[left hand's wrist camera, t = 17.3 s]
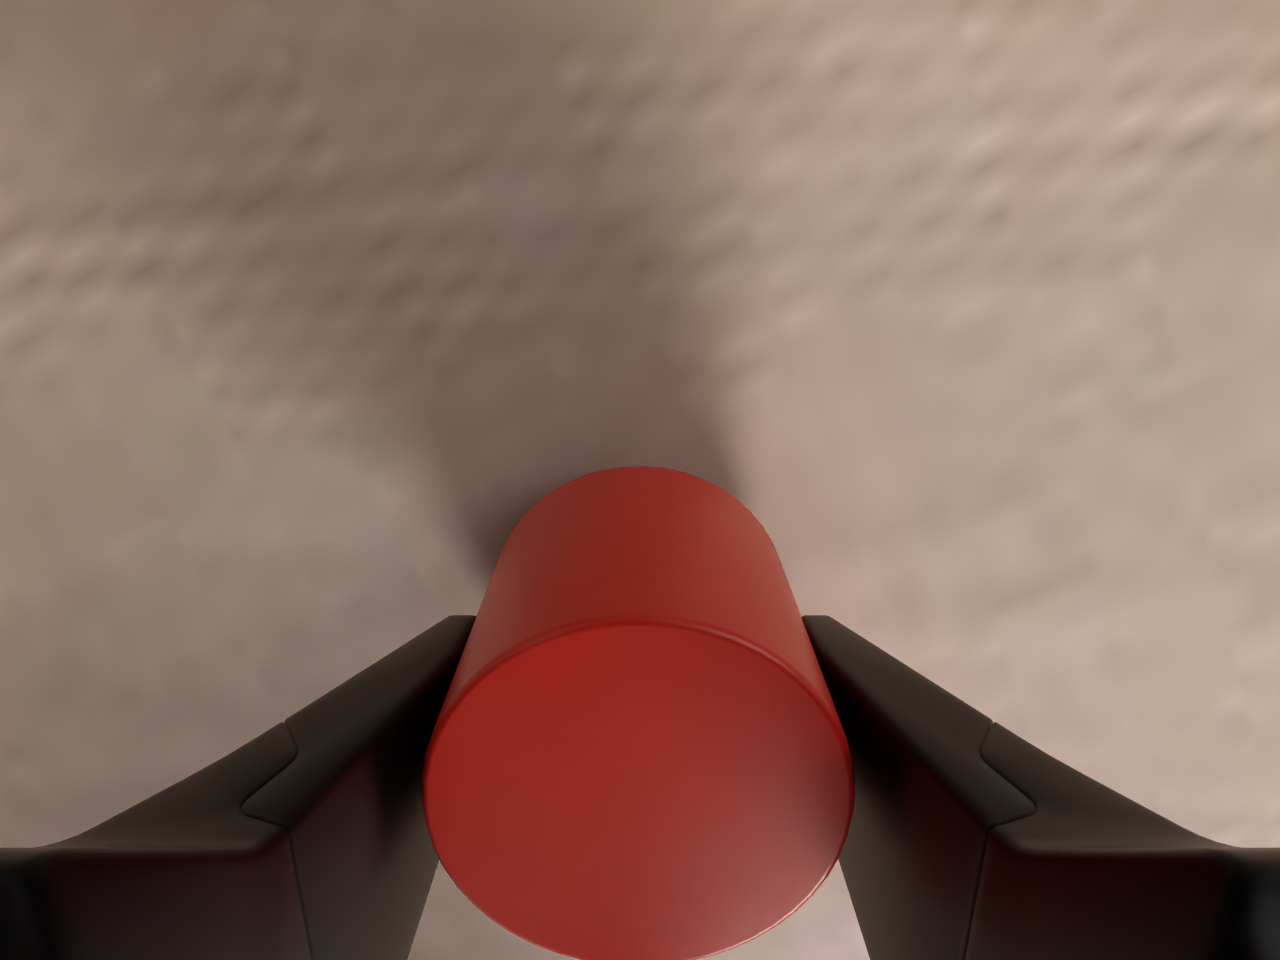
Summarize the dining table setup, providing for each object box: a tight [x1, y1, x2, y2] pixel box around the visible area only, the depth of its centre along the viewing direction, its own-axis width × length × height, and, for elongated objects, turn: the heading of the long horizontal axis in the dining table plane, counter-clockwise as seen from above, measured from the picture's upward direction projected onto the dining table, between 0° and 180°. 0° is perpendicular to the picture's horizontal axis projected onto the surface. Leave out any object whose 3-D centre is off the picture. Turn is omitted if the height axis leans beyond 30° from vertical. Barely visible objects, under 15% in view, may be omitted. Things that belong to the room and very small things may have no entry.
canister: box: [422, 466, 855, 960], centre depth 10 cm, size 4×4×4 cm
